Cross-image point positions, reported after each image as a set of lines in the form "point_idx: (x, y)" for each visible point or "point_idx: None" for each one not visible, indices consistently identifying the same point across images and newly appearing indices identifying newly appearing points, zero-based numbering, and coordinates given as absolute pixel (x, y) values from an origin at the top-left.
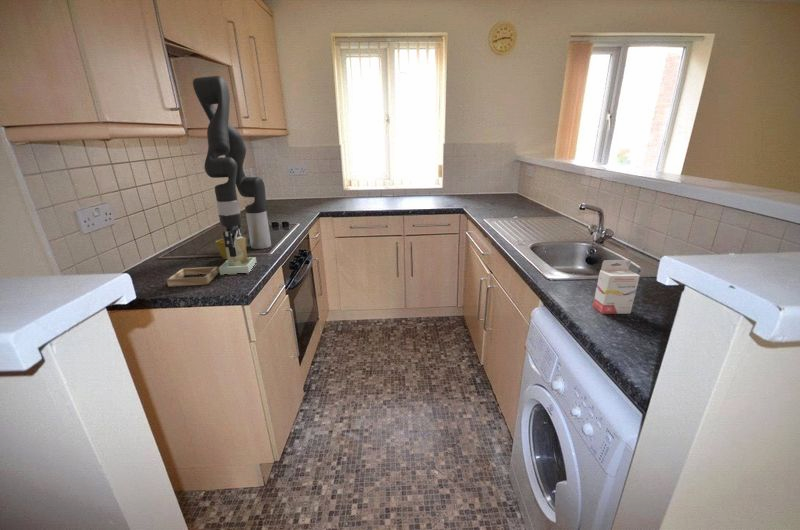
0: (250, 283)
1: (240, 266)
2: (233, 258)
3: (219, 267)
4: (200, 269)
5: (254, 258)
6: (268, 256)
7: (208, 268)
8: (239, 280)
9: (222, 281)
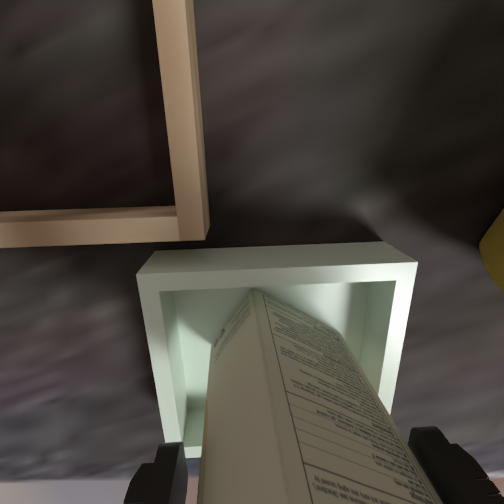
0: (12, 461)
1: (164, 420)
2: (207, 418)
3: (145, 277)
4: (164, 66)
5: None
6: (499, 420)
7: (172, 155)
8: (53, 399)
9: (24, 313)
